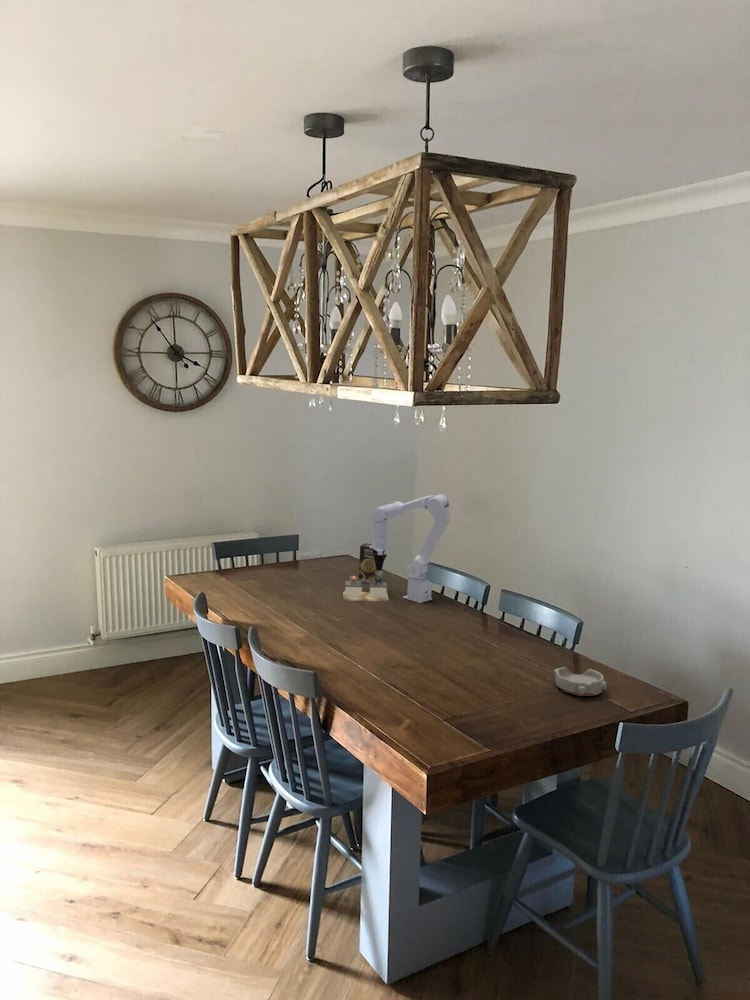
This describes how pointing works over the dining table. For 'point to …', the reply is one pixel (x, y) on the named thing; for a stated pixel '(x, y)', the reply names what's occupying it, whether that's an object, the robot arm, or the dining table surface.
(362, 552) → the coffee box
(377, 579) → the plunger
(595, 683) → the dish
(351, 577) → the plunger
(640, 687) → the dining table surface
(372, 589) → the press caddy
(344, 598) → the serving board
